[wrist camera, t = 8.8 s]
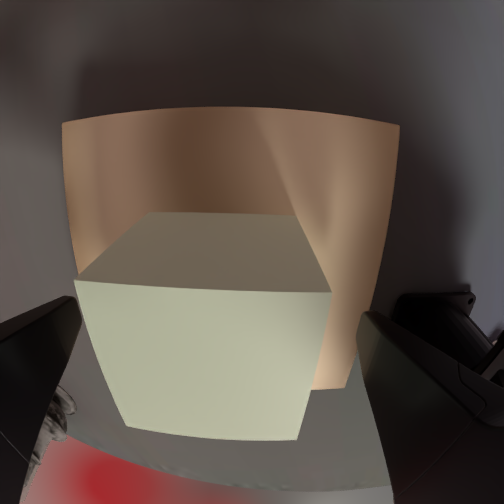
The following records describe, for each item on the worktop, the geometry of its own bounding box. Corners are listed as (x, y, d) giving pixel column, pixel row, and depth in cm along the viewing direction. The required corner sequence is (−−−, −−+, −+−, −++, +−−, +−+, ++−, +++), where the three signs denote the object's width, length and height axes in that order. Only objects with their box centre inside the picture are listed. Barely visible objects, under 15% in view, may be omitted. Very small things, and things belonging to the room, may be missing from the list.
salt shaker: (46, 368, 19) (-15, 472, 8) (90, 413, 21) (48, 516, 10) (21, 378, 20) (-31, 463, 9) (60, 417, 22) (21, 503, 11)
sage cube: (295, 215, 10) (332, 292, 5) (283, 335, 12) (296, 439, 7) (149, 212, 10) (73, 280, 5) (162, 329, 12) (126, 426, 7)
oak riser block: (361, 125, 12) (399, 125, 8) (329, 339, 17) (344, 387, 13) (108, 122, 12) (62, 122, 8) (131, 329, 17) (108, 374, 13)
